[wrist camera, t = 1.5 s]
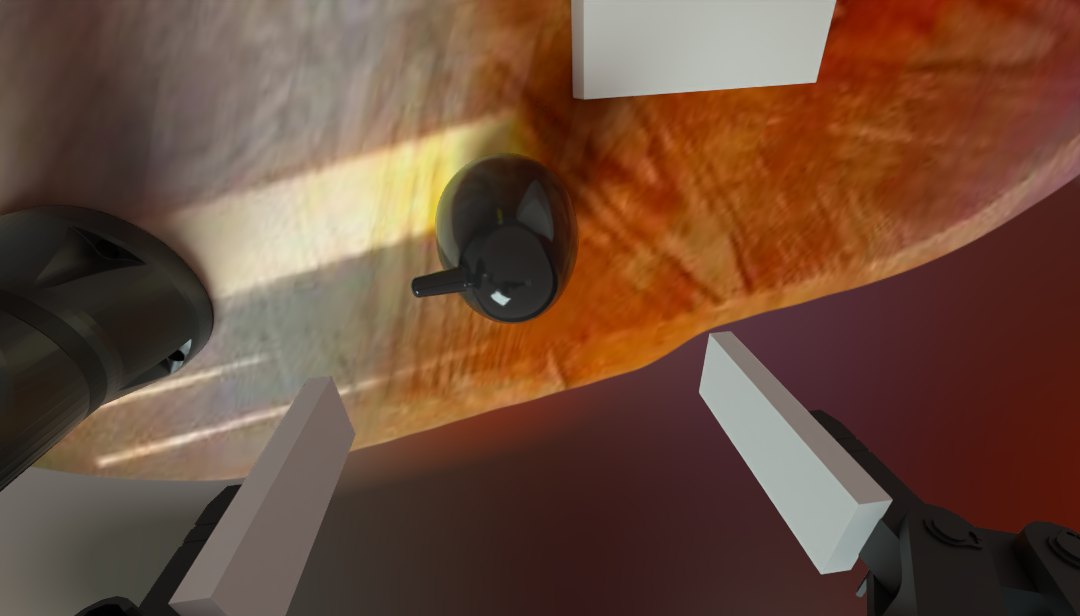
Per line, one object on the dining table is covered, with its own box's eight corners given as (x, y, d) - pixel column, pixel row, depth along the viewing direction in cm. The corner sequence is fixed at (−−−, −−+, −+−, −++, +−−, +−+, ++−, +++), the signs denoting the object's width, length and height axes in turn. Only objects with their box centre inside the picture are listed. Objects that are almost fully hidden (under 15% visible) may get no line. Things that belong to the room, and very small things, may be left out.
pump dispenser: (433, 144, 30) (389, 192, 17) (569, 146, 31) (628, 193, 18) (444, 269, 35) (418, 381, 22) (561, 267, 36) (603, 372, 23)
